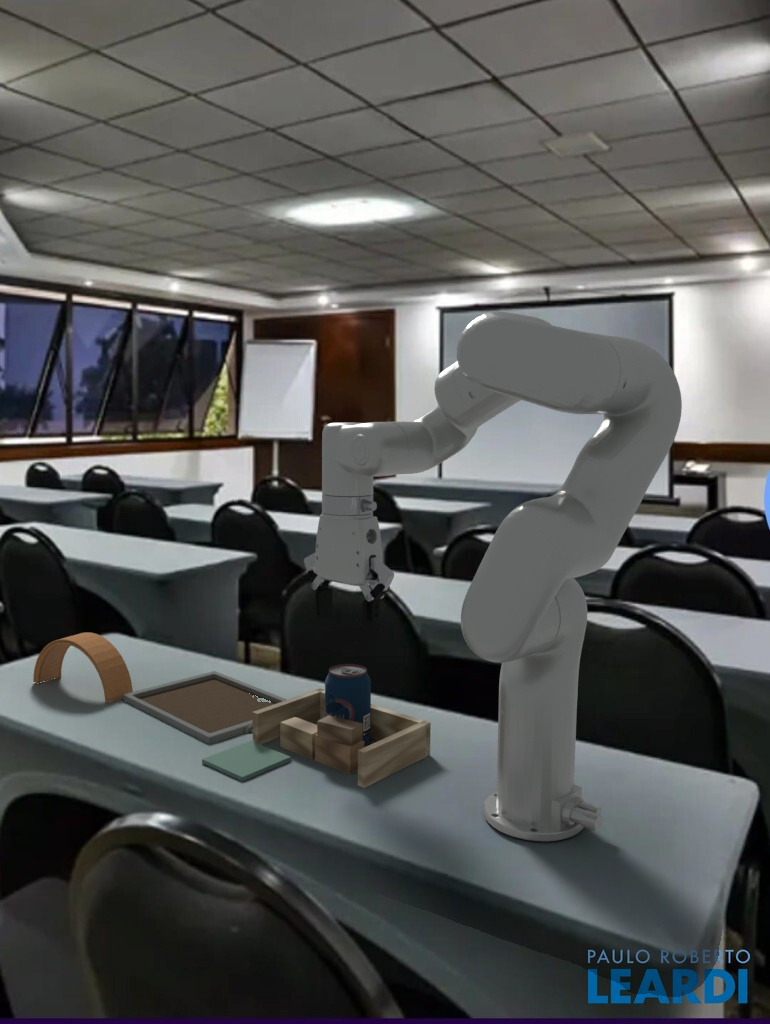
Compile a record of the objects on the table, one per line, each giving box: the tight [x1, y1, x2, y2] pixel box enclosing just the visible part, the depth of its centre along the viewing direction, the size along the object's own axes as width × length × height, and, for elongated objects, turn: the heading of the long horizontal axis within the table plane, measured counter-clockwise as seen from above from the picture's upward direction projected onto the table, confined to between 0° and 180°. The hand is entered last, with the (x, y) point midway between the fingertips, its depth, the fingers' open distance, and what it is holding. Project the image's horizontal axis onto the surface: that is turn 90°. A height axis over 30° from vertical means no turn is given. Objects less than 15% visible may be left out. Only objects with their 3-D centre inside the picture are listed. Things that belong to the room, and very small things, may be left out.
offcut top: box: [316, 715, 363, 746], centre depth 119 cm, size 6×3×2 cm, turn 58°
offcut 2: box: [314, 734, 364, 775], centre depth 119 cm, size 7×3×4 cm, turn 49°
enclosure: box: [252, 688, 431, 789], centre depth 124 cm, size 23×15×5 cm, turn 49°
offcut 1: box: [279, 717, 317, 760], centre depth 124 cm, size 7×3×4 cm, turn 48°
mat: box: [201, 740, 292, 782], centre depth 120 cm, size 9×9×1 cm
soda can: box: [324, 663, 372, 747], centre depth 125 cm, size 7×7×12 cm
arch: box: [32, 631, 134, 704], centre depth 150 cm, size 6×20×10 cm, turn 59°
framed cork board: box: [122, 670, 288, 745], centre depth 142 cm, size 19×2×30 cm
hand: (346, 620), depth 124 cm, fingers open, 9 cm apart
